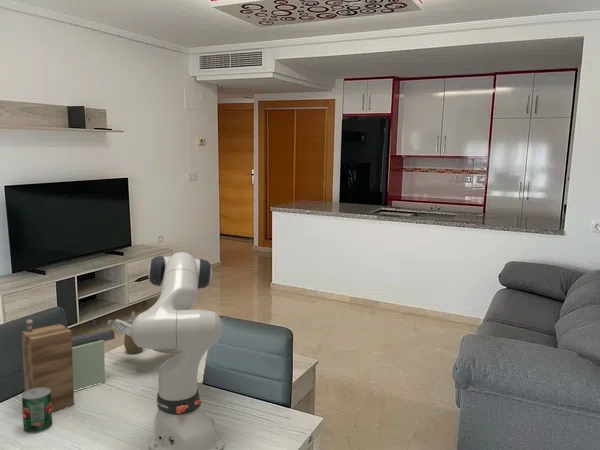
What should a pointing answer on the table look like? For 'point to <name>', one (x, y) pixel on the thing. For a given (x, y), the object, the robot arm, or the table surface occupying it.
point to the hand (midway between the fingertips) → (114, 325)
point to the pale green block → (88, 364)
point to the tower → (49, 362)
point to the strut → (93, 338)
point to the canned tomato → (37, 409)
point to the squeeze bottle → (131, 340)
